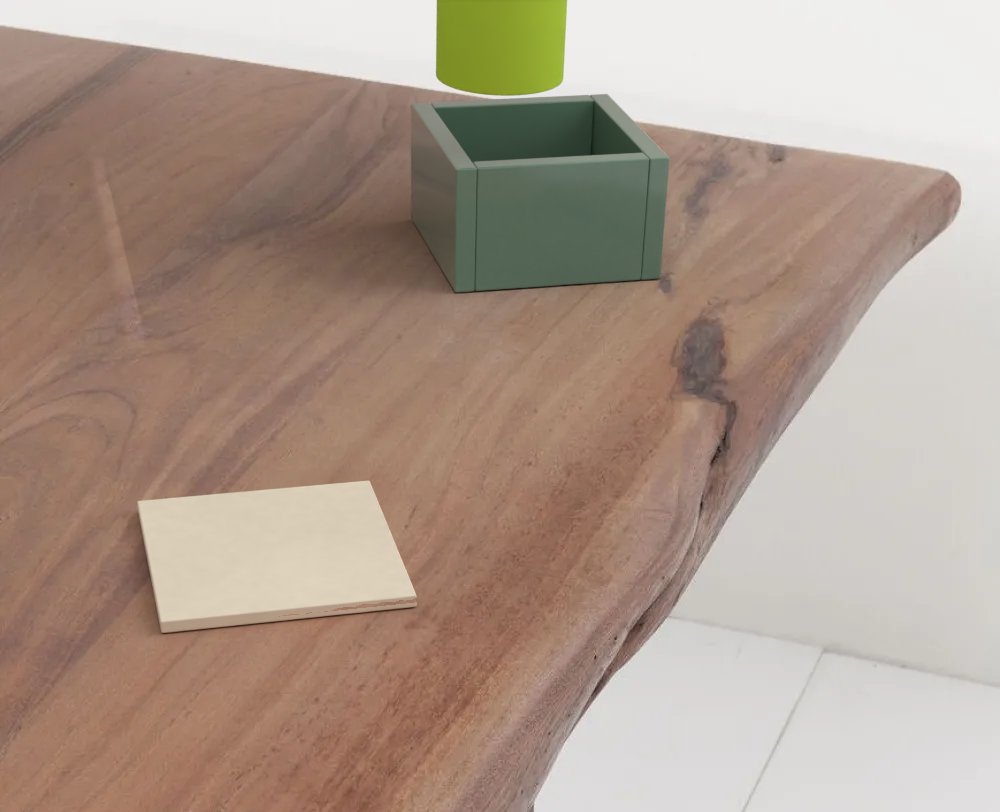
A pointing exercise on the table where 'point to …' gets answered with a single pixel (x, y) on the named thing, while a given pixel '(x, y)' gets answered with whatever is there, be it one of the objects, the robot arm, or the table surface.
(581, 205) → the holder
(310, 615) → the mat
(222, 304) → the table surface
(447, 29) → the soap dispenser
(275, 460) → the table surface
